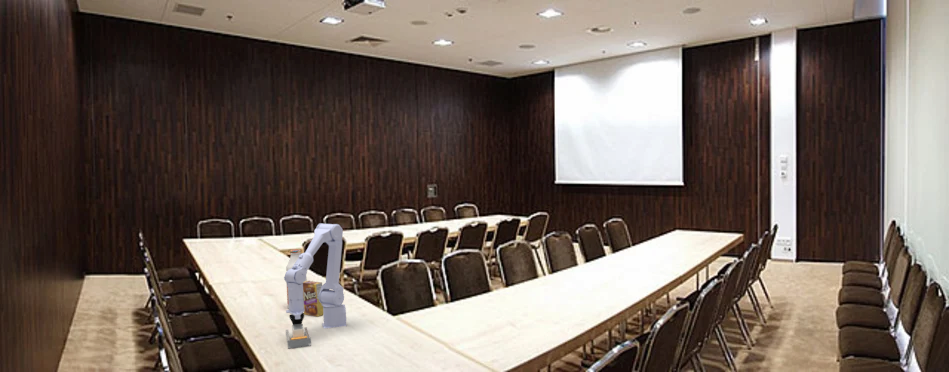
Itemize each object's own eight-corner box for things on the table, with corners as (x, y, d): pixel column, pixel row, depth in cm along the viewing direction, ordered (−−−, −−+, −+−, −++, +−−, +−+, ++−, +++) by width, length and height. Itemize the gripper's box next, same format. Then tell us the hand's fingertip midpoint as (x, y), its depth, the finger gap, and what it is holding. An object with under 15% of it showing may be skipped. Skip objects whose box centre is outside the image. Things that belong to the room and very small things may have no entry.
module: (303, 338, 235) (302, 323, 234) (304, 344, 228) (303, 327, 228) (292, 340, 233) (292, 324, 233) (293, 345, 227) (292, 329, 226)
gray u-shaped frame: (310, 330, 247) (309, 322, 247) (314, 346, 226) (314, 337, 226) (282, 334, 243) (282, 325, 243) (284, 350, 222) (284, 341, 222)
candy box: (303, 314, 272) (301, 282, 271) (309, 312, 276) (308, 280, 275) (317, 317, 267) (316, 283, 267) (324, 314, 271) (322, 281, 270)
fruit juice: (292, 311, 279) (289, 252, 277) (284, 307, 286) (282, 250, 284) (311, 307, 285) (308, 249, 283) (303, 303, 292) (300, 247, 290)
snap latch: (306, 343, 228) (306, 336, 228) (307, 345, 227) (307, 337, 226) (291, 345, 226) (290, 338, 226) (291, 347, 225) (291, 339, 224)
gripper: (284, 295, 240) (286, 328, 241) (286, 304, 226) (287, 339, 227) (302, 294, 242) (304, 326, 243) (305, 302, 229) (306, 336, 230)
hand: (297, 332), depth 235 cm, fingers closed
